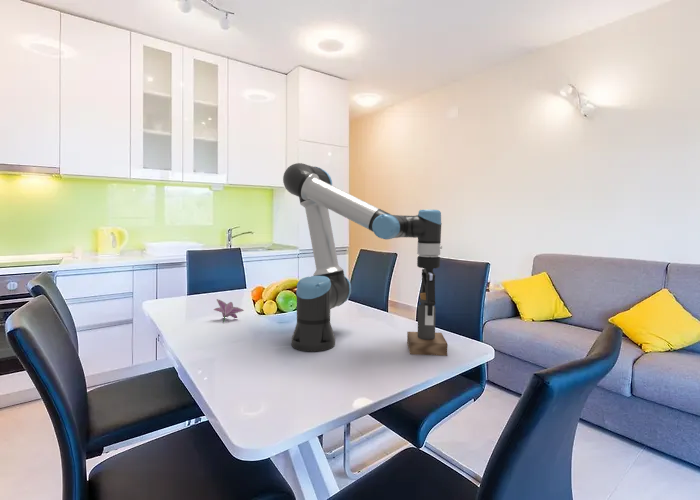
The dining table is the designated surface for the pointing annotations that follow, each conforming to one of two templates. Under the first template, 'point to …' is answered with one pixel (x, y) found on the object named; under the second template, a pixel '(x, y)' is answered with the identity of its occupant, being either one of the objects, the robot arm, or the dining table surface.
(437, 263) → the robot arm
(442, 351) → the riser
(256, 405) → the dining table surface
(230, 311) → the lily
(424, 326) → the bottle
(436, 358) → the dining table surface
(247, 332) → the dining table surface
